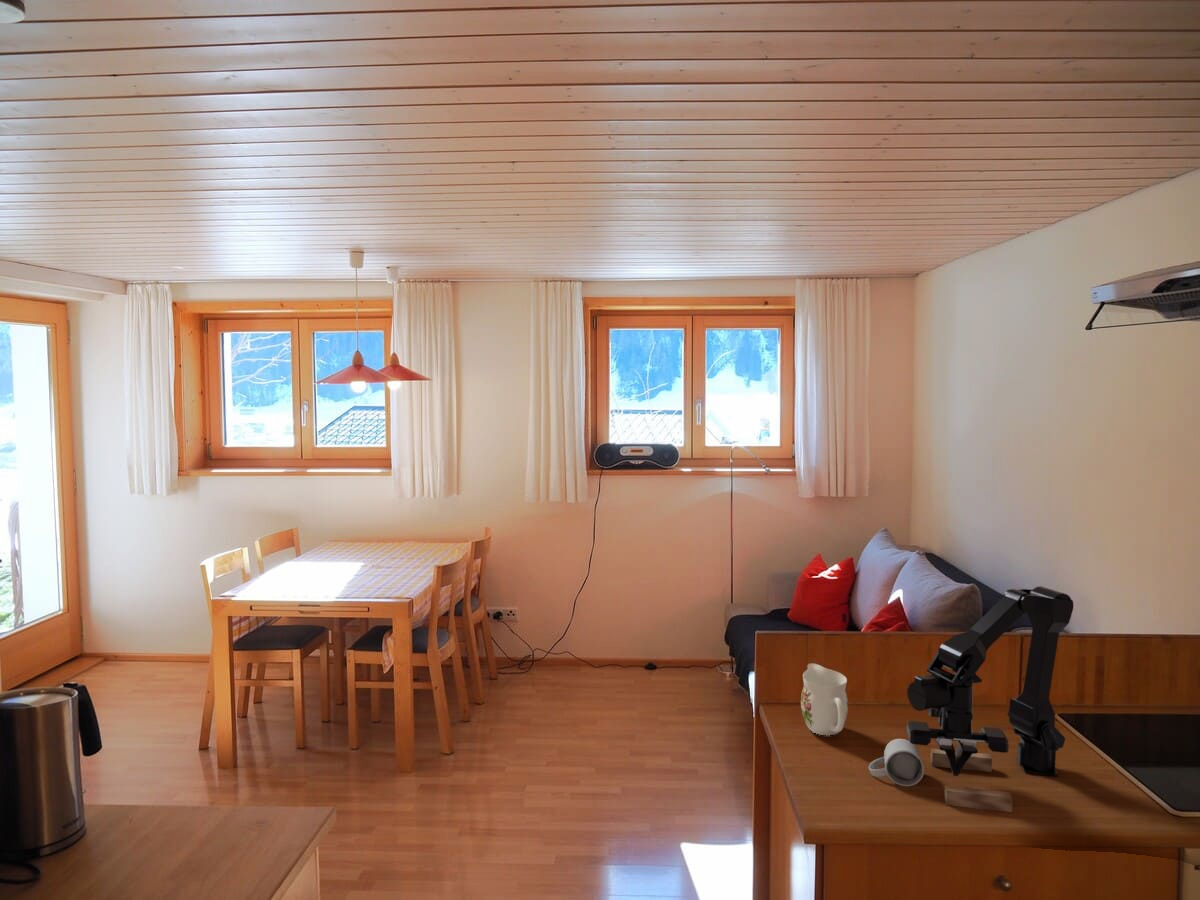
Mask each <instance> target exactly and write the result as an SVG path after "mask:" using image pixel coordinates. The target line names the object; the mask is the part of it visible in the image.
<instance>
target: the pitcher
mask: <svg viewBox="0 0 1200 900" xmlns="http://www.w3.org/2000/svg"><path fill="white" fill-rule="evenodd" d="M802 680H803V688H802V691H801V695H800V708H801V709H800V710H801V714H802V717H803V719H804V722H805V724H806V726H807V728H808V729H809V731H810V730H811V731H812V732H811V731H810V732H811V733H813V734H814V733H816V734H815V735H817V734H819V735H818V736H820V735H826V736H825V737H831V736H830V735H834V736H836V735H838V733H840V732H841V731H842V730H843V729H844V727H845V725H844V724H845V722H846V719H847V717H848V710H849V698H848V695H847V692H846V687H847V683H848V678H847V677H846V676H845V675H844V674H843V673H841V672H839V671H836V670H833V669H830V668H826V667H824V666H823V665H820V664H817V663H808V664H807V669H806V670H805V671H803V673H802ZM835 734H836V735H835ZM827 735H828V736H827Z"/></svg>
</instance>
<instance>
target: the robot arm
mask: <svg viewBox="0 0 1200 900" xmlns="http://www.w3.org/2000/svg"><path fill="white" fill-rule="evenodd" d="M1073 611H1074V600H1073V599H1072V597H1070V595H1069V594H1067V593H1065V592H1061V591H1057V590H1055V589H1051V588H1047V587H1045V586H1042V585H1041V586H1036V587H1034V588H1033V589H1028V588H1019V589H1016V588H1010V589H1007V590H1006V591H1005V592H1004V593H1003V596H1002V598H1001V599H999V601H997V602H996V603H995V604H994V605H993V606H992V608H990V609H989V610H988V611H987V612H986V613H985V614H984V615H983V616H982V617H981V618H980V619H979V620H978V621H976V623H974V625H973V626H972V627H970V628H969V629H968V630H967V631H964V632H962V633H959V634H954V635H953V636H951V637H949V638H948V639H947V640H946V641H944V642H942V643H941V644H940V646H939V648H938V651H937V653H936V654H935V656H934V658H933V659H932V660H931V662H930V664H929V665H928V667H927V668H926V673H928V674H929V675H916V676H914V681H912V682H910V684H909V685H908V687H907V690H906V694H907V700H908V702H909V704H910V706H911V707H912V708H913V709H914V710H915V711H917V712H921V711H928V716H929V717H931V718H937V721H938V726H939V727H941V728H930V727H929V725H928V721H919V720H909V721H908V722H907V724H906V734H907V737H908V741H910V743H912V744H914V745H919V746H928V745H929V744H931V742H932V741H931V740H932V739H935V742H936V745H937V747H938V749H940V750H942V751H945V752H946V754H947V757H948V760H949V763H950V767H951V768H950V769H951V773H952V776H953V777H958V776H959V775H960V773H961V771H962V770H963V769H962V768H963V766H964V764H965V763H966V761H967V760H968V759H969V758H970V756H971V755H972V754H976V753H979V750H978V749H977V745H978V744H979V743H981V744H982V743H983V744H987V748H988V749H989V750H990V751H991V752H993V753H1003V754H1004V753H1005V754H1007V753H1008V752H1009V740H1008V737H1007V736H1006V735H1005V733H1004V731H1003V730H1002V729H1001V728H999V727H988V726H987V727H986V726H982V727H981V729H980V732H976V731H973V730H972V729H973V728H972V727H973V698H974V697H973V695H974V694H973V691H974V684H979V683H982V682H983V679H982V678H981V677H980V676H979V675H978V674H977V672H978V670H979V669H980V668H981V667H982V665H983V664H984V662H985V661H986V658H987V654H988V653H987V651H988V650H989V649H990V647H991V646H993V644H994V643H996V642H997V640H998V639H1000V638H1001V637H1002V636H1003V635H1004V634H1005V633H1006V632H1007V631H1008V630H1009V629H1010V628H1011V627H1012V626H1013V625H1014V624H1015V623H1016V622H1017V621H1018V620H1019V619H1020V618H1021V617H1023V615H1024V614H1025V613H1026V614H1027V617H1028V620H1029V622H1030V624H1031V625H1030V626H1031V630H1032V631H1031V634H1030V635H1031V637H1030V641H1029V642H1030V643H1029V648H1028V649H1029V650H1028V656H1027V662H1026V669H1025V676H1024V681H1023V682H1024V683H1023V688H1022V692H1021V693H1020V694H1019V695H1018V696H1017V697H1016V698H1013V697H1012V698H1010V700H1009V709H1008V712H1007V714H1006V715H1007V716H1008V722H1009V724H1010V725H1011V726H1012V730H1013V733H1014V734H1016V735H1018V736H1020V739H1019V740H1020V741H1019V742H1017V746H1016V747H1017V749H1016V762H1017V763H1018V764H1019V767H1021V769H1022V770H1023V772H1024V773H1025V774H1032V775H1034V774H1035V775H1044V776H1053V777H1058V775H1059V773H1058V771H1057V770H1056V759H1057V757H1056V756H1057V755H1056V754H1057V753H1056V752H1058V751H1059V749H1063V747H1064V744H1065V741H1066V738H1065V736H1064V735H1063V734H1062V733H1061V732H1060V731H1059V730H1058V728H1057V727H1056V713H1055V710H1054V709H1053V705H1052V704H1051V700H1050V696H1051V695H1050V694H1051V688H1052V682H1053V681H1052V680H1053V674H1054V668H1055V667H1054V666H1055V661H1056V656H1057V655H1056V654H1057V647H1058V641H1059V637H1060V636H1059V635H1060V633H1062V631H1063V630H1064V629H1065V628H1066V627H1067V626H1068V625H1069V624H1070V620H1071V617H1072V614H1073ZM943 667H944V668H947V669H948V670H949V671H950V670H951V671H952V673H951V672H949V671H947V670H945V669H943ZM953 672H954V673H953ZM953 741H956V749H955V747H954V744H953ZM977 743H978V744H977ZM955 751H957V753H956V757H955Z"/></svg>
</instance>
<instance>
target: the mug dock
mask: <svg viewBox="0 0 1200 900" xmlns="http://www.w3.org/2000/svg"><path fill="white" fill-rule="evenodd" d="M956 753H957V750H955V757H956ZM929 762H930V764H931V767H939V768H950V769H951V767H950V763H949V760H948V757H947V754H946V752H945V751H942V750H940V749H939V748H930V761H929ZM992 767H993V758H992V755H991V754H990V753H982V752H981V753H980V752H977V753H976V754H972V755H971V756H970V758H969V759H968V760H967V761H966V763H965V764H964V766H963V768H962V770H966V771H967V770H968V771H970V770H971V771H979V772H986V773H987V772H989V773H992V769H993V768H992ZM943 798H944V799H943V800H944V802H945V805H946V806H954V807H962V808H971V809H980V810H989V811H990V810H991V811H998V812H1005V813H1006V812H1007V813H1013V803H1014V802H1013V800H1014V797H1013V795H1012V794H1011V792H1010V791H1002V790H1001V791H999V790H991V789H984V788H983V789H980V788H972V787H963V786H955V785H954V786H953V785H944V797H943Z"/></svg>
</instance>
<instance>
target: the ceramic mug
mask: <svg viewBox="0 0 1200 900" xmlns="http://www.w3.org/2000/svg"><path fill="white" fill-rule="evenodd" d="M883 765H884V767H883V768H879V767H880V766H883ZM876 768H878V769H876ZM868 770H869V772H870V774H871V777H872V776H873V777H876V778H881V777H886V776H887V777H888V779H889V780H890V781H892V782H893V783H894V784H896V785H899V786H901V787H912V786H916V785H917V784H918V783H920V782H921V780H922V779H923V776H924V775H925V765H924V762H923V760H922V758H921V754H920V751H919V749H918V748H917V747H916V746H915V744H912V743H910V740H909V739H904V738H895V739H892V740H891V741H889V742H888V743H887V745H886V746H885V748H884V751H883V756H881V757H879V758H877V759H874V760H873V761H871V762H870V763H869V764H868Z"/></svg>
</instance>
